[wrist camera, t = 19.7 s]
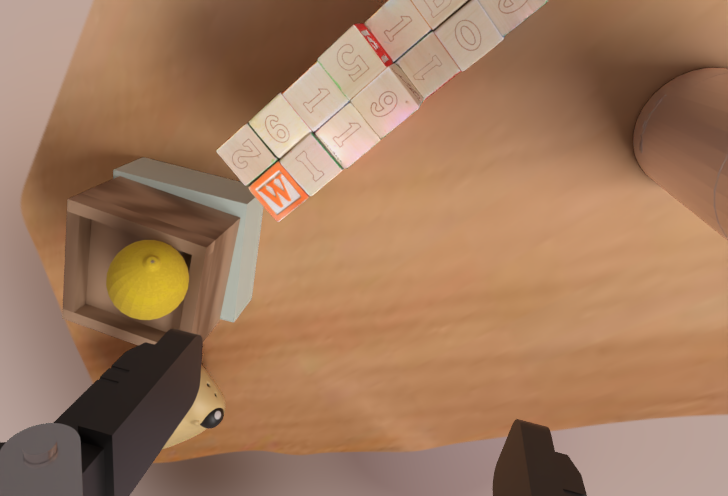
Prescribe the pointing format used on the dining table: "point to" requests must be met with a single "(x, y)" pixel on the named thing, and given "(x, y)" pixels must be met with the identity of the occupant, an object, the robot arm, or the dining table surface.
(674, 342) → the dining table surface
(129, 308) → the lemon
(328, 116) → the stack of blocks
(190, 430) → the cream pug plush toy
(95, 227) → the wooden box
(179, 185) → the tower base
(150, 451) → the robot arm
